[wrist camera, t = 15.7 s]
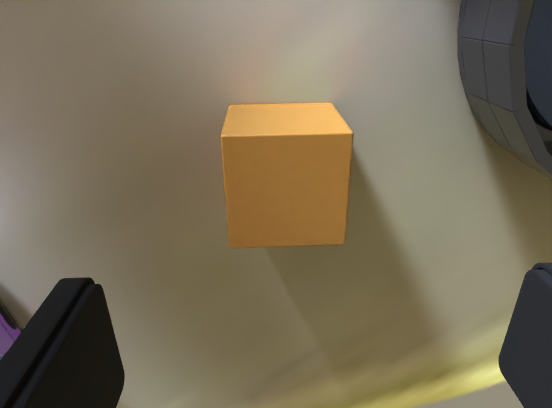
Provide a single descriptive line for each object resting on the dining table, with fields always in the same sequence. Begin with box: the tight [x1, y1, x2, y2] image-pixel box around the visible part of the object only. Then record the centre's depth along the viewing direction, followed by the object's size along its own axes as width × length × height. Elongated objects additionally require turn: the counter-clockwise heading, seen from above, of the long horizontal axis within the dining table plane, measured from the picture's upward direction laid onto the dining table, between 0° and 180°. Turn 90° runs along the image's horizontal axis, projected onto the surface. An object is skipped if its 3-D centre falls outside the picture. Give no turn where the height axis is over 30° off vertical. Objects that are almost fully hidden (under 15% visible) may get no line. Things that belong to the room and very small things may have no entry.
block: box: [220, 103, 353, 248], centre depth 16 cm, size 4×4×4 cm
